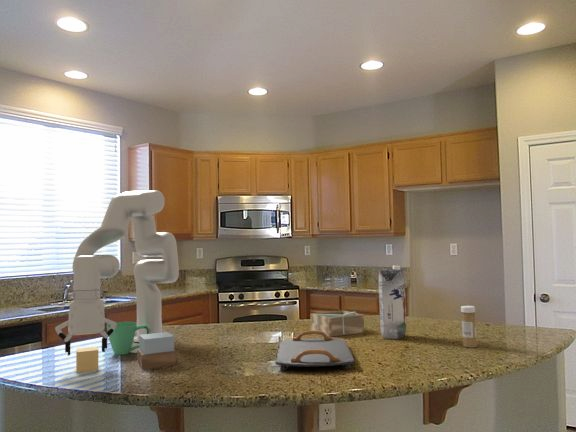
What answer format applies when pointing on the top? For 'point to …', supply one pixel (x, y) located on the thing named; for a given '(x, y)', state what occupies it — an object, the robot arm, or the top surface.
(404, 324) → the juice carton
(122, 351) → the mug
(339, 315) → the right angle wall
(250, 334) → the top surface
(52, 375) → the top surface
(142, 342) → the slate block
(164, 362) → the walnut block
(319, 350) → the serving board
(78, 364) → the ochre cube
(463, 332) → the sprinkles bottle
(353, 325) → the coaster caddy
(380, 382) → the top surface
